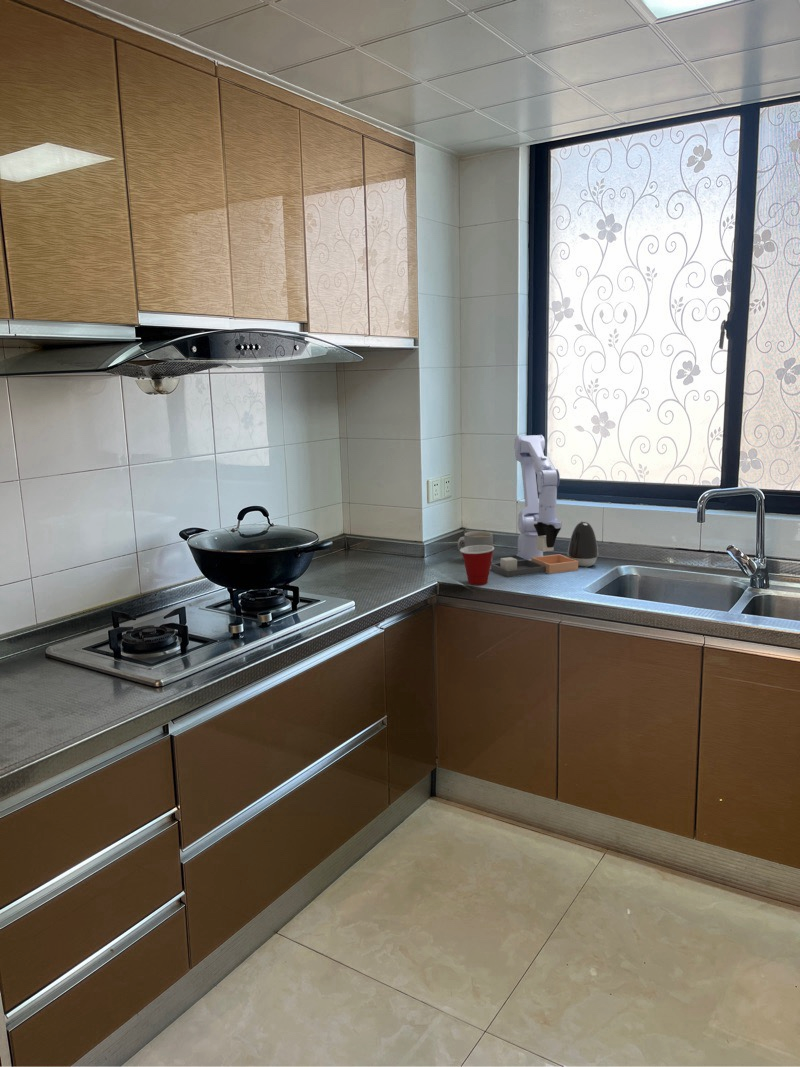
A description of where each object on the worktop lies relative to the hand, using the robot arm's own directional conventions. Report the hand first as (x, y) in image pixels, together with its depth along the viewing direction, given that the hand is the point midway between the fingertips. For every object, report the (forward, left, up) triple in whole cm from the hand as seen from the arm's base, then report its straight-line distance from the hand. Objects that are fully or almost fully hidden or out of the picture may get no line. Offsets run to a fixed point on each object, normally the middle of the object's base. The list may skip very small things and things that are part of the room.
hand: (546, 545), depth 268 cm
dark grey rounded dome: (0, +15, -9) cm, 17 cm away
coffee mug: (-22, -15, -9) cm, 28 cm away
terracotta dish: (+1, +3, -8) cm, 9 cm away
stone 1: (-1, -14, -8) cm, 16 cm away
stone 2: (0, -1, -1) cm, 1 cm away
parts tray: (-1, -10, -8) cm, 13 cm away
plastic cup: (+6, -29, -9) cm, 31 cm away
